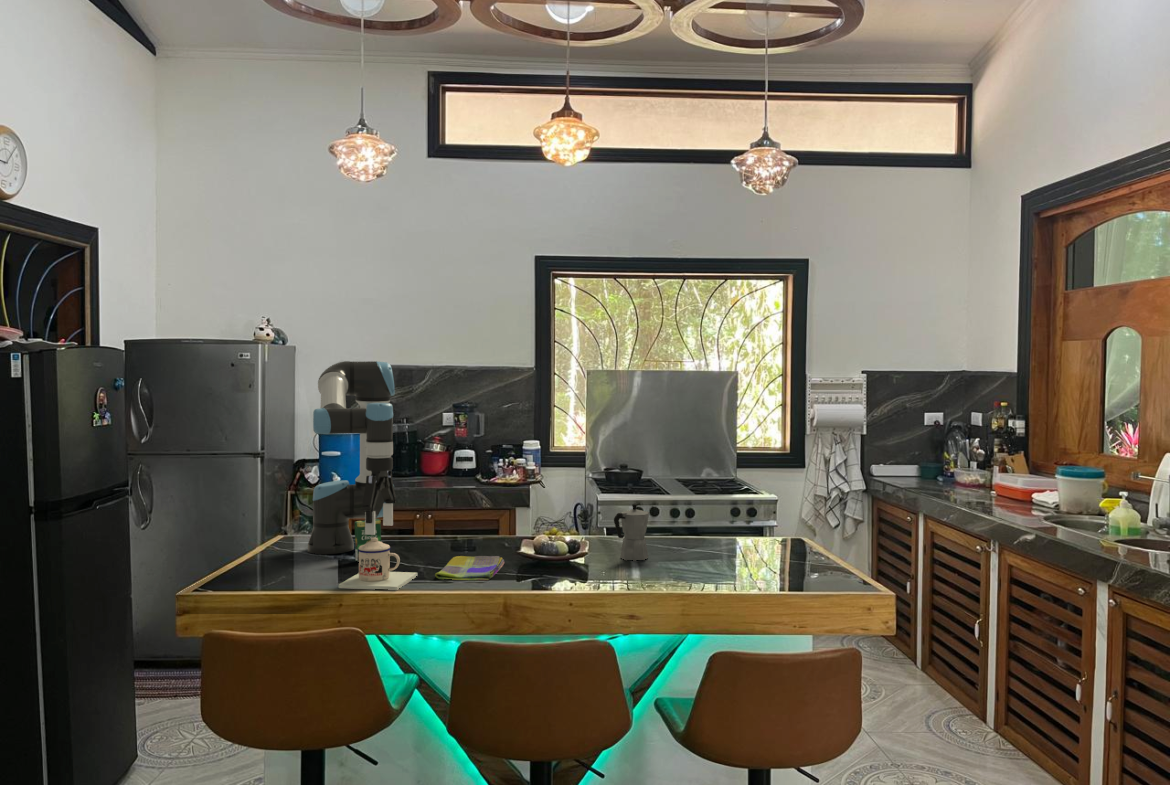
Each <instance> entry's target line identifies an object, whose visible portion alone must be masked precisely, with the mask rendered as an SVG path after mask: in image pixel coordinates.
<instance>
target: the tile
mask: <svg viewBox="0 0 1170 785" xmlns="http://www.w3.org/2000/svg"><path fill="white" fill-rule="evenodd" d="M416 576H417V577H418V572H408V571H405V572H403V571H390V576H389V578H388V579H385V580H381V581H362V580H360V579H359V572H358V573H357V574H355V575H353V576H351V577H349V578H347V579H346V580H345V581H343V582H340V583H339V584H338V589H352V590H353V589H354V590H375V589H388V590H387V591H398V590H400V589H401V588H403V587H404V586H406V585H407V584H408V583H410V582H412V579H413V580H414V579H415V578H417V577H416ZM402 586H403V587H402ZM399 588H400V589H399Z"/></svg>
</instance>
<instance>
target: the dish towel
mask: <svg viewBox="0 0 1170 785" xmlns="http://www.w3.org/2000/svg"><path fill="white" fill-rule="evenodd" d="M504 564H505V559H503V557H500V556H499V555H496V556H495V555H494V556H493V555H491V556H487V555H478V556H468V555H467V556H466V555H465V556H464V555H460V556H459V555H458V556H453V557H452V558H451V559H450V560H449V561H448V562H447V564H446V565H444V567H443V568H442V569H441V570H440V571H438V572H436V573H434V576H435V578H436V579H438V580H444V579H452V580H451V581H455V580H456V581H482V582H483V581H484V582H487V581H490V580H491V579H492V578H493V577H494V576H495V575H496V574H497V573H498V572H499V571H500V570H501V568H502V567H504Z"/></svg>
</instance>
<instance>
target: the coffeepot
mask: <svg viewBox="0 0 1170 785" xmlns="http://www.w3.org/2000/svg"><path fill="white" fill-rule="evenodd" d="M637 506H638V504H637V503H633V504H631V507H632V509H629V510H624V511H622V512H621V511H620V512H618V513H617V514H615V516H614V518H613V523H614V526H615V530H616V532H617V533H616V534H617V538H618V539H623V540H622V546H621V551H620V555H619V556H620V558H622V559H621V560H623V559H624V561H627V560H633V561H632V562H637V561H636V560H644V561H646V560H645V559H647V558H648V559H649V554H648V547H647V541H646V539H645V538H646V537H645V534H647V527H648V521H649V515H650V514H651V513H650V511H646V510H641V509H637ZM620 520H621V524H620ZM621 526H622V529H621ZM622 533H624V534H622ZM648 559H647V560H648Z"/></svg>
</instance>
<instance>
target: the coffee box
mask: <svg viewBox="0 0 1170 785" xmlns="http://www.w3.org/2000/svg"><path fill="white" fill-rule="evenodd" d="M381 522H382V521H381V519H379V518H375V535H365V520H357V521H354V549H355V550H354V551H355V552H354V553H355V555H354V557H355V560H354V561H355V562H356V561H357V562H356V563H358V562H359V551H358V548H359V547H360V546H361V545H364V544H366V543H367V542H369V541H371V538H374V537H376V538H378V541H381V542H382V527H381V525H382V524H381Z"/></svg>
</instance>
